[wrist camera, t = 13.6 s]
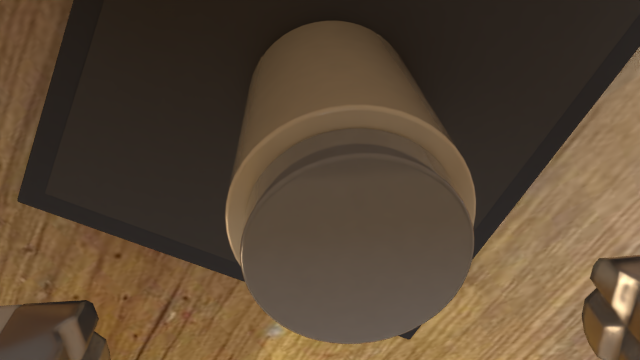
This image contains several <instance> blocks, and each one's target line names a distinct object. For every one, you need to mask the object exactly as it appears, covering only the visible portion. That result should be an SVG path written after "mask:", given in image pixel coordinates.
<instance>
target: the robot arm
mask: <svg viewBox="0 0 640 360" xmlns="http://www.w3.org/2000/svg"><path fill="white" fill-rule="evenodd" d="M590 279H591V280H592V282H593V283H594V285H595V286H596V289H595V290H594V291H593V292H592V293H591V294H590V295H589V296H588V297H587V298H586V299H585V301H584V306H583V311H582V321H583V328H584V333H585V335H586V338H587V340H588V343H589V345H590V346H591V348H592V350H593V351H594V353H595V354H596V356H597V357H599V358H600V359H602V360H640V255H633V256H621V257H610V258H599V259H598V261H597V262H596V263H595V264H594V266H593V269H592V273H591V277H590ZM98 320H99V318H98V315H97V313H96V310H95V308H94V305H93V303H91V302H89V301H87V300H82V301H65V302H48V303H31V304H23V305H7V306H0V360H111V358H110V351H109V348H108V344H107V341H106V339H104V338H103V337H102V336H100V335H99V334H98V333H96V332H95V331H94V330H95V327H96V325H97V322H98Z"/></svg>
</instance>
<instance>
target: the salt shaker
mask: <svg viewBox="0 0 640 360" xmlns="http://www.w3.org/2000/svg"><path fill="white" fill-rule="evenodd" d="M475 215H476V194H475V186H474V183H473V179H472V176H471V172H470V170H469V168H468V166H467V164H466V162H465V160H464V158H463V156H462V155H461V153H460V151H459V150H458V148H457V147H456V145H455V143H454V142H453V140H452V139H451V137H450V135H449V134H448V132H447V131H446V129H445V128H444V126H443V124H442V123H441V121H440V120H439V118H438V116H437V115H436V113H435V112H434V110H433V108H432V107H431V105H430V104H429V102H428V100H427V99H426V97H425V96H424V94H423V92H422V91H421V89H420V88H419V86H418V84H417V83H416V81H415V80H414V78H413V76H412V75H411V73H410V72H409V70H408V68H407V67H406V65H405V64H404V62H403V60H402V59H401V57H400V56H399V54H398V53H397V51H396V50H395V49H394V48H393V47H392V46H391V45H390V44H389V42H387V41H386V40H385V39H384V38H383V37H381V36H380V35H378V34H377V33H375V32H374V31H372V30H370V29H368V28H365V27H363V26H361V25H358V24H354V23H350V22H344V21H320V22H314V23H310V24H306V25H303V26H301V27H298V28H296V29H294V30H292V31H290V32H288V33H287V34H285V35H283V36H282V37H281V38H280V39H278V40H277V41H276V42H274V43H273V44H272V46H271V47H270V48H269V49H268V50H267V51H266V52H265V53H264V55H263V56H262V58H261V59H260V61H259V62H258V64H257V66H256V68H255V70H254V73H253V76H252V78H251V82H250V87H249V92H248V96H247V101H246V106H245V111H244V116H243V121H242V126H241V131H240V136H239V141H238V146H237V151H236V156H235V160H234V165H233V170H232V175H231V180H230V185H229V190H228V195H227V200H226V208H225V224H226V232H227V236H228V240H229V244H230V247H231V249H232V252H233V254H234V256H235V258H236V260H237V261H238V263H239V265H240V266H241V269H242V274H243V278H244V280H245V283H246V285H247V287H248V290H249V291H250V293H251V295H252V296H253V298H254V299H255V301H256V302H257V304H258V305H259V306H260V307H261V308H262V310H263V311H264V312H265V313H267V314H268V315H269V316H270V317H271V318H272V319H273V320H275V321H276V322H277V323H279V324H280V325H282V326H283V327H285V328H287V329H289V330H291V331H293V332H294V333H297V334H300V335H302V336H305V337H307V338H311V339H315V340H318V341H323V342H329V343H338V344H362V343H370V342H376V341H381V340H385V339H389V338H392V337H395V336H398V335H401V334H403V333H406V332H408V331H410V330H413V329H414V328H416V327H418V326H420V325H422V324H423V323H425V322H427V321H428V320H429V319H431V318H432V317H434V316H435V315H436V314H437V313H439V312H440V311H441V310H442V309H443V308H444V307H445V306H446V305H447V304H448V303H449V302H450V301H451V300H452V299H453V298H454V296H455V295H456V293H457V292H458V291H459V289H460V288H461V286H462V284H463V282H464V280H465V279H466V277H467V274H468V272H469V269H470V266H471V262H472V257H473V252H474V231H473V226H474V220H475Z"/></svg>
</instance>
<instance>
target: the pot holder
mask: <svg viewBox="0 0 640 360" xmlns="http://www.w3.org/2000/svg"><path fill="white" fill-rule="evenodd" d="M320 21H344V22H350V23H354V24H358V25H361V26H363V27H365V28H368V29H370V30H372V31H374V32H375V33H377V34H378V35H380V36H381V37H383V38H384V39H385V40H386V41H387V42H389V44H390V45H391V46H392V47H393V48H394V49H395V50H396V51H397V53H398V54H399V56H400V57H401V59H402V60H403V62H404V64H405V65H406V67H407V68H408V70H409V72H410V73H411V75H412V76H413V78H414V80H415V81H416V83H417V84H418V86H419V88H420V89H421V91H422V92H423V94H424V96H425V97H426V99H427V100H428V102H429V104H430V105H431V107H432V108H433V110H434V112H435V113H436V115H437V116H438V118H439V120H440V121H441V123H442V124H443V126H444V128H445V129H446V131H447V132H448V134H449V135H450V137H451V139H452V140H453V142H454V143H455V145H456V147H457V148H458V150H459V151H460V153H461V155H462V156H463V158H464V160H465V162H466V164H467V166H468V168H469V170H470V172H471V176H472V179H473V183H474V186H475V194H476V215H475V220H474V226H473V231H474V252H473V257H472V260H473V258H474V257H475V256H476V254H477V253H478V252H479V251H480V249H481V248H482V247H483V246H484V244H485V243H486V242H487V240H488V239H489V238H490V237H491V235H492V234H493V233H494V232H495V230H496V229H497V228H498V226H499V225H500V224H501V223H502V221H503V220H504V219H505V217H506V216H507V215H508V214H509V212H510V211H511V210H512V209H513V207H514V206H515V205H516V203H517V202H518V201H519V200H520V198H521V197H522V196H523V195H524V193H525V192H526V191H527V189H528V188H529V187H530V186H531V184H532V183H533V182H534V181H535V179H536V178H537V177H538V175H539V174H540V173H541V172H542V170H543V169H544V168H545V166H546V165H547V164H548V163H549V161H550V160H551V159H552V158H553V156H554V155H555V154H556V152H557V151H558V150H559V149H560V147H561V146H562V145H563V144H564V142H565V141H566V140H567V138H568V137H569V136H570V135H571V133H572V132H573V131H574V130H575V128H576V127H577V126H578V124H579V123H580V122H581V121H582V119H583V118H584V117H585V115H586V114H587V113H588V112H589V110H590V109H591V108H592V107H593V105H594V104H595V103H596V101H597V100H598V99H599V98H600V96H601V95H602V94H603V93H604V91H605V90H606V89H607V87H608V86H609V85H610V84H611V82H612V81H613V80H614V78H615V77H616V76H617V75H618V73H619V72H620V71H621V70H622V68H623V67H624V66H625V64H626V63H627V62H628V61H629V59H630V58H631V57H632V56H633V54H634V53H635V52H636V50H637V49H638V48H639V47H640V0H74V1H73V4H72V8H71V11H70V15H69V19H68V22H67V26H66V29H65V33H64V36H63V40H62V43H61V47H60V50H59V54H58V58H57V61H56V65H55V68H54V72H53V75H52V79H51V82H50V86H49V89H48V93H47V96H46V100H45V104H44V107H43V111H42V114H41V118H40V121H39V125H38V128H37V132H36V135H35V139H34V143H33V146H32V150H31V153H30V157H29V160H28V164H27V167H26V171H25V174H24V178H23V182H22V185H21V189H20V192H19V196H18V202H20V203H23V204H26V205H29V206H32V207H35V208H37V209H40V210H43V211H46V212H49V213H52V214H54V215H57V216H60V217H63V218H66V219H69V220H71V221H74V222H77V223H80V224H83V225H86V226H88V227H91V228H94V229H97V230H100V231H103V232H105V233H108V234H111V235H114V236H117V237H120V238H122V239H125V240H128V241H131V242H134V243H137V244H139V245H142V246H145V247H148V248H151V249H154V250H156V251H159V252H162V253H165V254H168V255H171V256H173V257H176V258H179V259H182V260H185V261H188V262H190V263H193V264H196V265H199V266H202V267H205V268H208V269H210V270H213V271H216V272H219V273H222V274H225V275H227V276H230V277H233V278H236V279H239V280H242V281H244V282H245V280H244V278H243V274H242V269H241V266H240V265H239V263H238V261H237V260H236V258H235V256H234V254H233V252H232V249H231V247H230V244H229V240H228V236H227V232H226V224H225V208H226V200H227V195H228V190H229V185H230V180H231V175H232V170H233V165H234V160H235V156H236V151H237V146H238V141H239V136H240V131H241V126H242V121H243V116H244V111H245V106H246V101H247V96H248V92H249V87H250V82H251V78H252V76H253V73H254V70H255V68H256V66H257V64H258V62H259V61H260V59H261V58H262V56H263V55H264V53H265V52H266V51H267V50H268V49H269V48H270V47H271V46H272V44H273V43H274V42H276V41H277V40H278V39H280V38H281V37H282V36H283V35H285V34H287V33H288V32H290V31H292V30H294V29H296V28H298V27H301V26H303V25H306V24H310V23H314V22H320ZM420 326H421V325H420ZM420 326H418V327H416V328H414V329H413V330H410V331H408V332H406V333H403V334H401V335H398V336H400V337H403V338H406V339H411V337H412V336H413V335H414V334H415V332H416V331H417V330H418V328H419V327H420Z"/></svg>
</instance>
